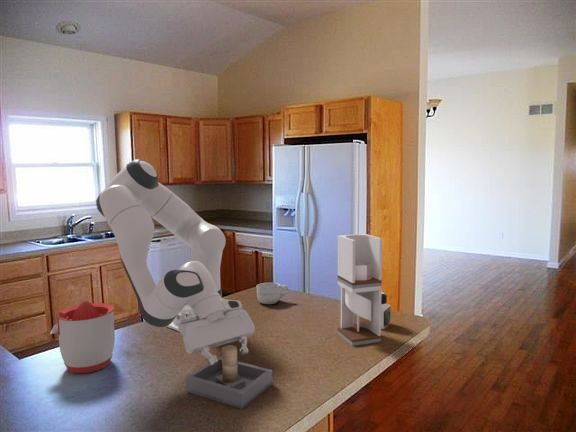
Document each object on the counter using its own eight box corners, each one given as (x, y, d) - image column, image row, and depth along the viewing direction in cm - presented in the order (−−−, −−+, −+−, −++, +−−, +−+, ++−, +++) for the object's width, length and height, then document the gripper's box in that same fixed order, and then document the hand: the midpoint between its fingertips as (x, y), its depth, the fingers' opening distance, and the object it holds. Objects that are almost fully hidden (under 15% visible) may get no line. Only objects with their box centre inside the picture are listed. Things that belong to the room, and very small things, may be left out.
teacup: (254, 305, 186) (253, 287, 185) (259, 298, 197) (259, 280, 196) (286, 307, 184) (286, 288, 183) (290, 299, 195) (290, 281, 194)
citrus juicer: (55, 361, 134) (51, 297, 132) (116, 351, 141) (112, 290, 139) (50, 383, 120) (45, 313, 118) (118, 371, 127) (114, 304, 125)
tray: (186, 391, 115) (185, 376, 115) (219, 369, 127) (219, 356, 127) (242, 409, 106) (241, 393, 106) (272, 384, 118) (272, 370, 118)
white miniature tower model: (337, 333, 154) (337, 235, 150) (364, 329, 157) (365, 233, 153) (352, 345, 143) (352, 240, 139) (380, 341, 146) (382, 238, 143)
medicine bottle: (383, 329, 157) (384, 297, 156) (365, 326, 161) (365, 294, 160) (390, 323, 163) (391, 292, 162) (372, 320, 167) (372, 289, 166)
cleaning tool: (215, 382, 118) (214, 346, 117) (231, 376, 121) (230, 341, 120) (229, 392, 112) (228, 355, 111) (245, 386, 115) (244, 349, 114)
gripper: (179, 315, 113) (198, 364, 107) (245, 300, 126) (266, 342, 120) (172, 327, 117) (191, 375, 111) (237, 311, 130) (256, 353, 124)
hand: (230, 358), depth 115 cm, fingers open, 8 cm apart
